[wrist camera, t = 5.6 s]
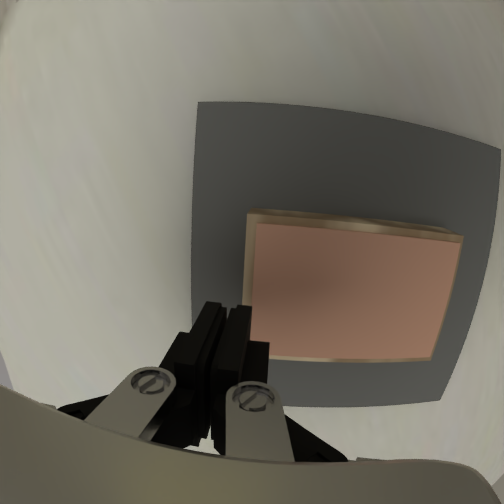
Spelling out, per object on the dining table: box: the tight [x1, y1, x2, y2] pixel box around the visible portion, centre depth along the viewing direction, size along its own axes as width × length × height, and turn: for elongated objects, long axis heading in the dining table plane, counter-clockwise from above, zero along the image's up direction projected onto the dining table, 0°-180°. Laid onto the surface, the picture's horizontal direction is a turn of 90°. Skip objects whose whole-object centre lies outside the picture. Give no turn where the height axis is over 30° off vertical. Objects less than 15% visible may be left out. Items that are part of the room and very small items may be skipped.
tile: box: [242, 208, 464, 363], centre depth 17 cm, size 3×8×12 cm
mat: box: [191, 102, 501, 407], centre depth 18 cm, size 20×20×1 cm
